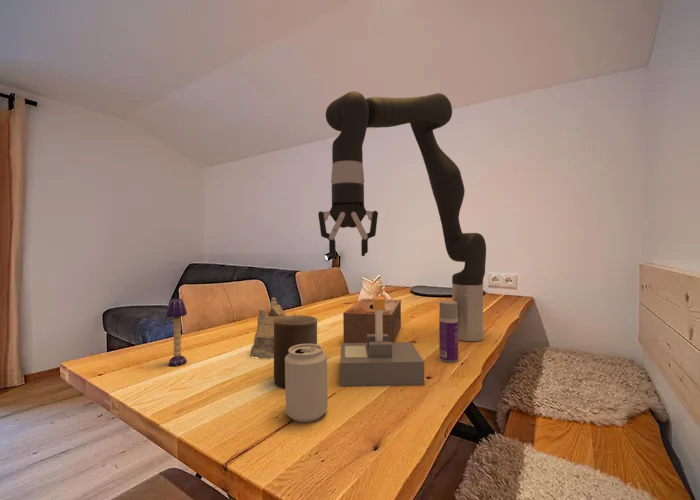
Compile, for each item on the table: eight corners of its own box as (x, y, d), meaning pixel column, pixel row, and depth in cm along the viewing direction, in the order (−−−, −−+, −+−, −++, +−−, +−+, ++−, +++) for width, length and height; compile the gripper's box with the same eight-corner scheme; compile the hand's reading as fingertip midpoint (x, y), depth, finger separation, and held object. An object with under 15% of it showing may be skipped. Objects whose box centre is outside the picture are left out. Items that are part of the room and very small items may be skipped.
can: (287, 404, 63) (286, 342, 63) (327, 402, 64) (326, 340, 64) (283, 426, 56) (282, 355, 56) (327, 423, 57) (326, 353, 56)
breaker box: (341, 362, 85) (340, 331, 85) (411, 361, 85) (411, 330, 85) (340, 386, 71) (340, 349, 71) (424, 384, 71) (424, 347, 71)
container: (459, 363, 84) (459, 304, 83) (440, 362, 85) (439, 303, 84) (457, 356, 88) (456, 300, 88) (438, 355, 89) (438, 300, 89)
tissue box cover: (391, 349, 96) (391, 315, 96) (343, 346, 100) (343, 312, 99) (400, 327, 121) (400, 299, 121) (362, 325, 125) (361, 298, 124)
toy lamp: (192, 362, 87) (190, 298, 86) (176, 368, 82) (174, 301, 82) (179, 359, 89) (177, 297, 88) (163, 365, 84) (161, 300, 84)
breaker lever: (373, 347, 80) (372, 296, 80) (383, 347, 80) (382, 296, 80) (374, 354, 76) (374, 299, 76) (385, 353, 76) (384, 299, 76)
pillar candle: (280, 392, 68) (280, 320, 68) (269, 376, 77) (268, 311, 77) (324, 383, 73) (324, 315, 73) (308, 368, 82) (308, 307, 81)
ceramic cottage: (241, 355, 91) (244, 301, 91) (276, 341, 106) (278, 294, 106) (290, 367, 85) (293, 308, 85) (319, 350, 100) (322, 300, 100)
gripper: (377, 186, 81) (377, 255, 81) (317, 186, 81) (318, 255, 81) (380, 180, 73) (381, 256, 74) (315, 181, 73) (316, 257, 74)
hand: (348, 255), depth 77 cm, fingers open, 6 cm apart
